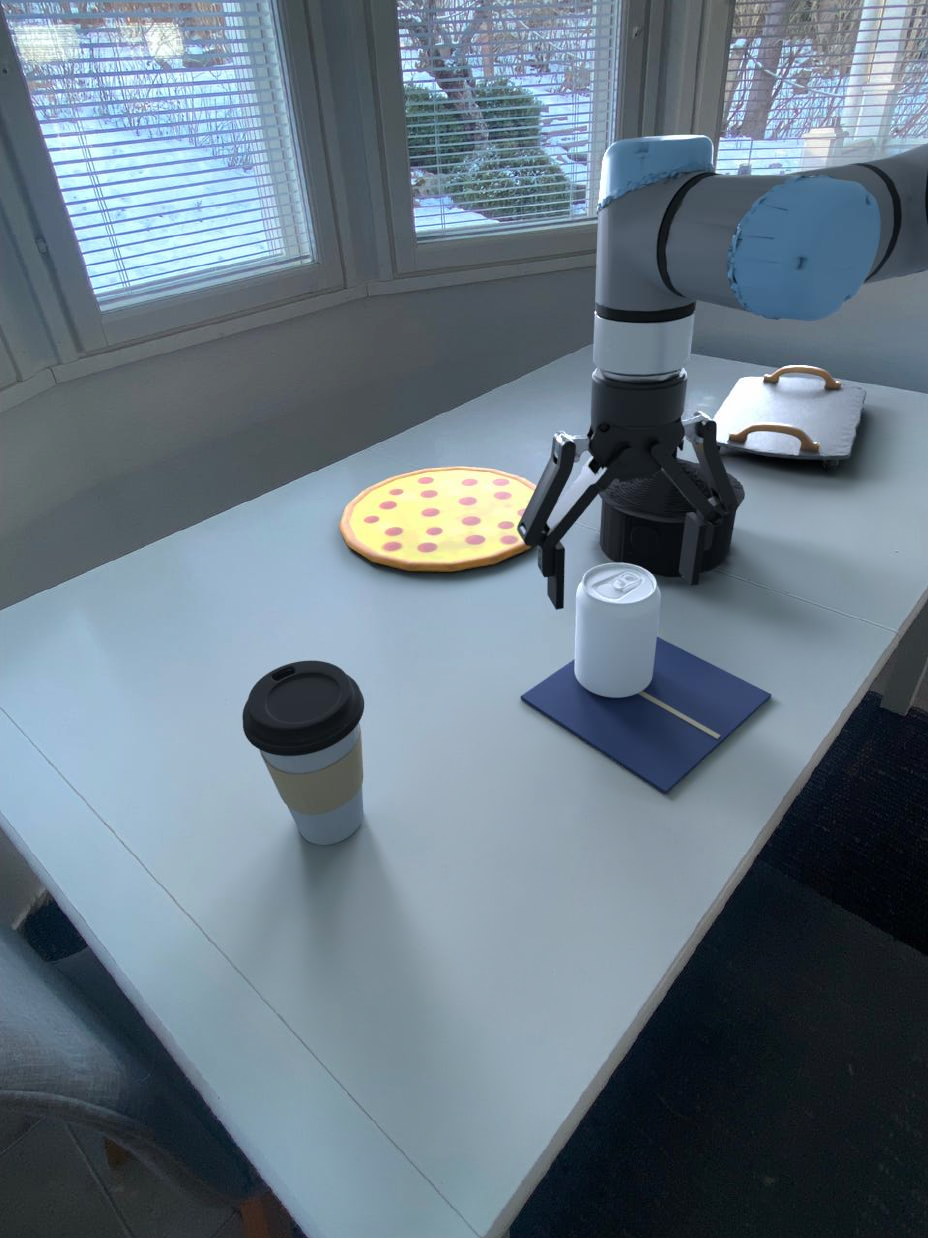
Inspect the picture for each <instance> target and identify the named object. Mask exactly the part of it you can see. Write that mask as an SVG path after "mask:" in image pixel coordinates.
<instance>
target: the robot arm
mask: <svg viewBox="0 0 928 1238" xmlns="http://www.w3.org/2000/svg"><path fill="white" fill-rule="evenodd" d="M713 162H714V144H713V142H712V140H711V138H710V137H709V136H706V135H698V134H672V135H670V134H669V135H655V136H654V135H653V136H643V137H642V136H641V137H632V138H625V139H620V140H618V141H615V142H614V143H612V144H611V145H610V146H608V148H607V150H606V151H605V153H604V156H603V158H602V165H601V174H600V175H601V176H600V185H599V187H600V188H599V193H598V194H599V195H598V205H597V207H596V209H595V211H596V215H597V237H596V238H597V239H596V268H595V299H594V301H595V302H594V303H595V305H594V325H593V326H594V327H593V349H592V351H593V352H592V363H593V364H594V365H595V366H596V367H597V368H595V369H594V371H593V372H592V374H591V389H590V391H591V393H590V424H589V428H588V430H587V432H586V434H572V435H568V434H567V433H566V432H565V431H564V430H557V431H556V432H555V433H554V434H553V437H552V443H551V451H550V458H549V459H548V462H547V464H546V465H545V467H544V470H543V472H542V475H541V476H540V478H539V480H538V482H537V484H536V488H535V491H534V493H533V495H532V497H531V499H530V501H529V503H528V505H527V507H526V509H525V511H524V513H523V516H522V518H521V520H520V522H519V524H518V526H517V531H518V532H519V534H520V536H521V538H522V539H523V541H524V543H525V544H526V545H527V546H532V547H533V546H537V567H538V568H539V571H540V573H541V574H542V577H543V578H547V580H546V581H547V584H546V585H547V586H546V587H547V588H546V589H547V590H546V592H547V593H546V595H547V597H548V598H549V600H550V602H551V604H552V605H553V607H554V609H555V610H556V611H557V610H558V611H559V610H563V609H565V568H566V567H565V564H566V563H565V562H566V548H565V546H564V544H563V543H562V541H561V540H562V539H563V538H564V536H565V535H566V534H567V533H568V531H570V529H571V528H572V527H573V526H574V524H575V523H576V522H577V521H578V519H579V518H580V517H581V516H582V514H583V513H584V512H585V511H586V510H587V509H588V507H590V505H591V503H592V502H593V501H594V500H595V499H596V498H597V496H599V493H600V492H601V491H604V490H606V489H607V488H608V487H609V485H610V484H611V483H612V482H613V480H617V481H618V482H625V481H629V480H632V479H634V478H651V477H653V474H655V473H657V472H658V471H659V470H660V469H661V470H662V471H663V473H664V474H665V475H666V476H667V477H668V478H669V480H670V481H671V482H672V483H673V484H674V485H675V487H676V488H677V489H678V490H679V491H680V492H681V493H682V495H683V496H684V497H685V498H686V499H687V500H688V502H689V503H690V504H691V505H692V506H693V507H694V509H695V510H696V511H697V514H695V513H694V512H691V513H686V519H685V526H684V534H683V542H682V550H681V558H680V565H679V573H680V574H681V575H682V576H683V577H682V578H683V579H684V580H685V581H686V582H687V583H688V585H689V586H691V587H695V586H699V584H700V577H701V573H700V571H701V564H702V557H703V550H709V548H710V547H711V545H712V539H713V532H714V526H719V525H720V524H721V523H722V521H723V516H722V514H724V513H726V512H728V513H733V512H735V511H736V512H737V510H738V509H739V507H738V502H737V499H736V497H735V494H734V491H733V488H732V486H731V483H730V480H729V477H728V475H727V473H728V472H727V470H726V467H725V464H724V460H723V458H722V455H721V453H720V451H719V450H718V448H717V445H716V438H717V423H716V422H715V421H714V420H712V419H713V418H711V417H710V416H708V415H707V414H705V413H703V412H702V411H700V410H697V411H695V412H693V413H692V414H691V416H690V418H687V419H684V420H682V416H683V414H684V411H685V406H686V405H685V403H686V395H687V386H688V379H689V378H688V377H689V375H688V371H686V369H685V368H686V367H687V366H688V365H689V364H690V363H691V353H692V343H693V336H694V335H693V334H694V324H695V315H696V307H697V301H699V302H703V303H708V304H713V305H717V306H721V307H725V308H729V309H734V310H737V311H738V310H739V311H743V312H747V313H751V314H753V315H755V316H757V317H758V316H761V317H763V318H764V319H768V320H775V321H776V320H777V321H778V320H783V319H785V320H795V321H801V322H815V321H821V320H824V319H826V318H829V317H831V316H832V315H834V314H836V313H838V312H839V310H840V309H841V307H842V306H843V304H844V303H845V302H847V301H849V300H851V299H852V298H853V297H854V296H856V294H857V293H858V291H859V290H860V289H861V288H862V286H863V285H867V284H872V283H877V282H880V281H885V280H889V279H895V278H899V277H905V276H909V275H913V274H914V275H915V274H919V273H923V272H926V271H928V142H926V143H923V144H921V145H919V146H916V147H914V148H911V149H908V150H906V151H903V152H900V153H898V154H895V155H891V156H887V157H883V158H879V159H874V160H869V161H864V162H855V163H848V164H843V165H836V166H835V165H834V166H829V167H821V168H816V169H807V170H801V171H794V172H788V173H779V174H723V173H717V172H715V169H716V167H715V165H714V163H713ZM684 438H685V439H686V441H688V442H689V443H691V445H692V448H693V451H694V454H695V456H696V459H697V461H698V463H699V464H700V466H701V469H702V471H703V474H704V476H705V479H706V482H707V484H708V487H709V489H710V492H711V494H712V498H710V499H707V498H706V497H705V496H704V494H703V493H702V492H701V491H700V490H699V489H698V487H697V486H696V485H695V484H694V483H693V481H692V480H691V479H690V478H689V477H688V475H687V474H686V473H685V472H684V470H683V469H682V467H681V466H680V465H679V464H678V463H677V461H676V460H675V459H674V458H673V457H672V453H673V452H674V451H675V449H676V448H677V449H678V448H679V447H678V445H679V444H680V443H681V441H682V440H684ZM587 451H588V453H589V454H590V457H588V459H587V461H586V462H585V463H584V464H583V466H582V467H581V469H580V474H579V475H578V476H577V478H576V479H575V480H574V482H573V483H572V484H571V485H570V487H568V489H567V490H566V492H565V493H564V494H563V495H562V497H561V494H562V492H563V490H564V488H565V487H566V485H567V482H568V481H569V479H570V476H571V474H572V471H573V468H574V464H575V463H579V462H580V461H581V456H582V454H583V453H584V452H587ZM600 469H602V470H601V471H600ZM599 471H600V472H599ZM559 498H560V499H559Z"/></svg>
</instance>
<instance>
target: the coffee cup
mask: <svg viewBox="0 0 928 1238" xmlns="http://www.w3.org/2000/svg"><path fill="white" fill-rule="evenodd" d="M364 711H365V698H364V695H363V693H362V691H361V689H360V685H358V683H357V682H356V680H355V679H354V678H353V677H351V675H349V674H347V673H346V672H345V671H344V670H343V669H342V668H340V667H339V666H337V665H335V664H333V663H331V662H327V661H322V660H311V659H310V660H300V661H294V662H290V663H287V664H283V665H281V666H279V667H277V668H275V669H273V670H271V671H269V672H267V673H266V674H265V675H263V676H262V677H261V678H260V679H258V681H256V683H255V684H254V685H253V687H252V688H251V690H250V692H249V695H248V696H247V700H246V702H245V704H244V707H243V710H242V716H241V717H242V730H243V733H244V735H245V738H246V739H247V741H248V742H249V743H250V744H251V745H252V746H254V747H255V748H256V749H258V750H259V752H260V756H261V758H262V760H263V762H264V764H265V767H266V769H267V771H268V773H269V775H270V777H271V779H272V781H273V783H274V785H275V788H276V790H277V792H278V794H279V796H280V798H281V800H282V801H283V804H285V805H286V807H287V809H288V812H289V813H290V815H291V818H292V820H293V822H294V823H295V825H296V828H297V829H298V831H299V833H300V834H301V836H302V837H303V838H304V839H305V840H306V841H308V842H309V843H311V844H314V845H317V846H331V845H335V844H337V843H341V842H343V841H344V840H346V839H348V838H349V837H350V836H352V835H353V834H354V833H355V832H356V831H357V830H359V827H360V826H361V825H362V822H363V819H364V815H365V814H364V812H365V811H364V796H363V795H364V793H363V792H364V791H363V783H364V761H363V759H364V758H363V743H362V742H363V741H362V730H361V724H360V721H361V719H362V717H363V715H364Z"/></svg>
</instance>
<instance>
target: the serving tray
mask: <svg viewBox="0 0 928 1238" xmlns="http://www.w3.org/2000/svg"><path fill="white" fill-rule="evenodd" d="M785 374H806V375H813V376H817V377H819V378H822V379H823V380H822V379H816V378H805V377H798V376H797V377H794V376H782V375H785ZM866 397H867V391H866V389H864V388H862V387H859V386H857V385H856V386H855V385H848V384H844V383H842V381H838V380H835V379H834V377H833V376H832V375H831V373H829V371H827V370H826V369H824V368H821V367H817V366H811V365H801V364H800V365H797V364H796V365H795V364H794V365H793V364H792V365H786V366H782V367H780V368H779V369H777V370H776V371H775V372H773V373H771V374H764V376H745V377H740V378H739V379H738V380H737V382H736V383H735V385H734V386H733V388H732V390H730V392H729V393H728V395H727V397H726V398H725V399H724V401H723V402H722V404H721V405H720V407H719V408H718V410H717V412H716V413H715V415H714V416H713V417H712V418H711V419H712V420H714V421H715V422H716V423H717V438H716V445H717V448H718V450H719V452H720V451H721V449H722V447H723V448H726V449H729V450H733V451H736V452H742V453H748V454H752V455H753V454H754V455H758V456H762V457H763V456H764V457H769V458H781V459H792V460H793V459H794V460H805V461H806V460H809V461H823V466H824V467H823V468H824V470H825V471H828V472H833V471H835V469H837V467H838V466H839V464H840V463H839V461H841V460H847V459H849V458H850V457H851V454H852V450H853V447H854V444H855V443H854V442H855V440H856V438H857V429H858V427H859V426H860V424H861V421H862V420H861V419H862V414H863V412H864V411H865V407H864V404H865V401H866Z"/></svg>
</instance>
